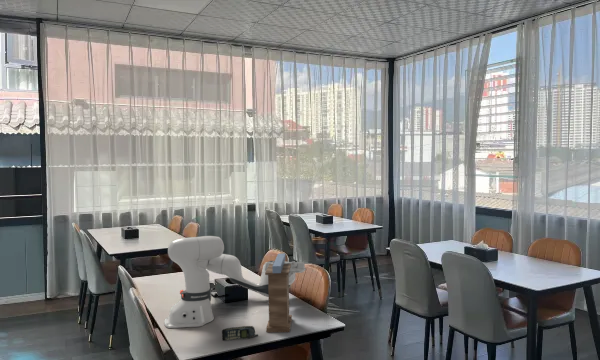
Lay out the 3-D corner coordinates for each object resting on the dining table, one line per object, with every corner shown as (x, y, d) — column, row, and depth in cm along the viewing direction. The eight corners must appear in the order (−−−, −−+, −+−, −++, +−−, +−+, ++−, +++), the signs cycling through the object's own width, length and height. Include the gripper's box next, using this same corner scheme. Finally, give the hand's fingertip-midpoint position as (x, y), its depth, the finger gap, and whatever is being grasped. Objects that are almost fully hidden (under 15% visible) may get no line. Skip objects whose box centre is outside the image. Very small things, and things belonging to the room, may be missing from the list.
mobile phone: (221, 330, 186) (258, 326, 189) (221, 327, 189) (257, 323, 192) (222, 342, 187) (258, 337, 190) (222, 339, 190) (257, 335, 193)
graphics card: (213, 280, 272) (229, 289, 251) (213, 285, 272) (229, 295, 251) (196, 282, 267) (212, 292, 246) (196, 288, 267) (212, 299, 246)
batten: (278, 259, 219) (278, 253, 219) (285, 259, 219) (285, 253, 219) (272, 273, 193) (272, 266, 193) (280, 273, 193) (280, 266, 193)
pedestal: (270, 319, 212) (269, 264, 210) (291, 319, 211) (290, 263, 210) (266, 332, 196) (265, 272, 194) (289, 332, 195) (288, 272, 194)
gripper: (305, 276, 233) (304, 268, 220) (266, 276, 234) (262, 269, 221) (305, 264, 235) (304, 256, 223) (266, 264, 236) (263, 256, 224)
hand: (283, 262), depth 222 cm, fingers open, 8 cm apart
